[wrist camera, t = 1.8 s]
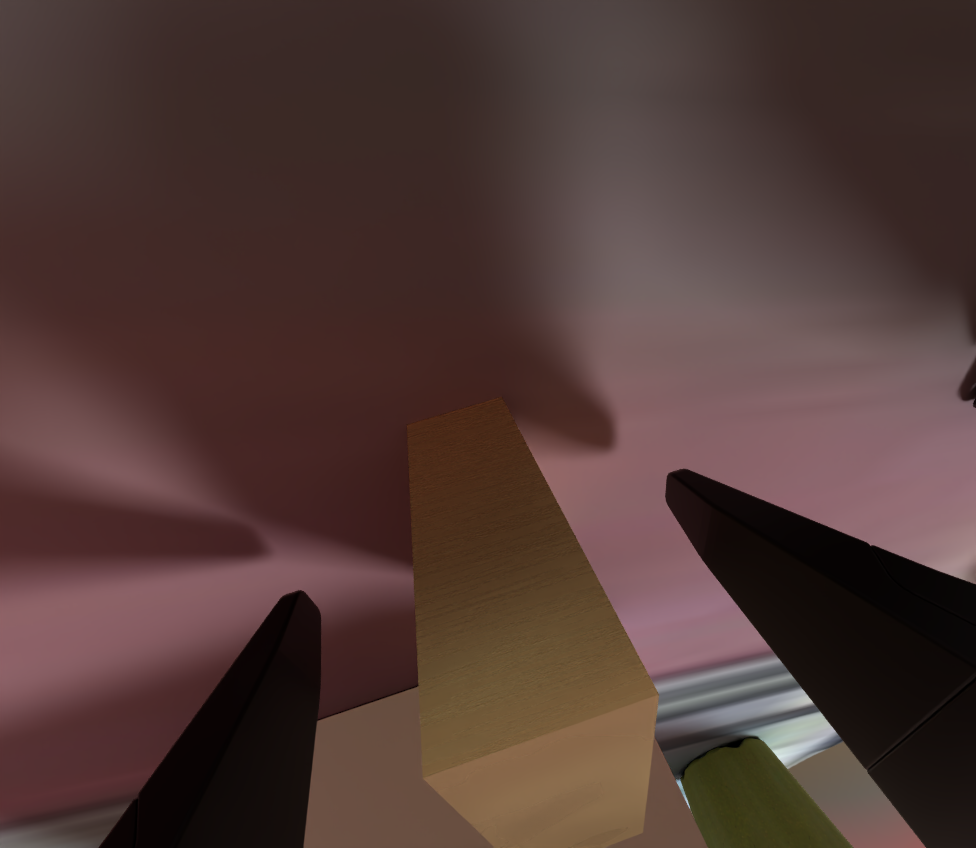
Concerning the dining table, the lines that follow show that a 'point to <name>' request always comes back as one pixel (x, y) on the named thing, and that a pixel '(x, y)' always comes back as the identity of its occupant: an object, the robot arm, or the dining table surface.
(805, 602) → the robot arm
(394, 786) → the box
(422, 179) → the dining table surface
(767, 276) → the dining table surface
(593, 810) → the block
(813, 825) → the plant pot
